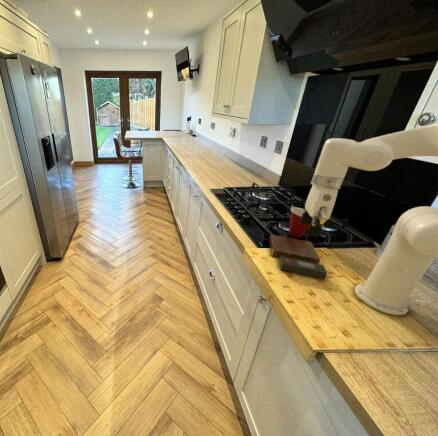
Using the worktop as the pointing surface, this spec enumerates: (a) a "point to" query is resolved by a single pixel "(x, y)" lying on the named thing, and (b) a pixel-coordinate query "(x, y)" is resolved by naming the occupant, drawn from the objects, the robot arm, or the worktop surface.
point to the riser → (293, 249)
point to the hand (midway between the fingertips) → (308, 229)
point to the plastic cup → (297, 223)
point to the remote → (302, 268)
